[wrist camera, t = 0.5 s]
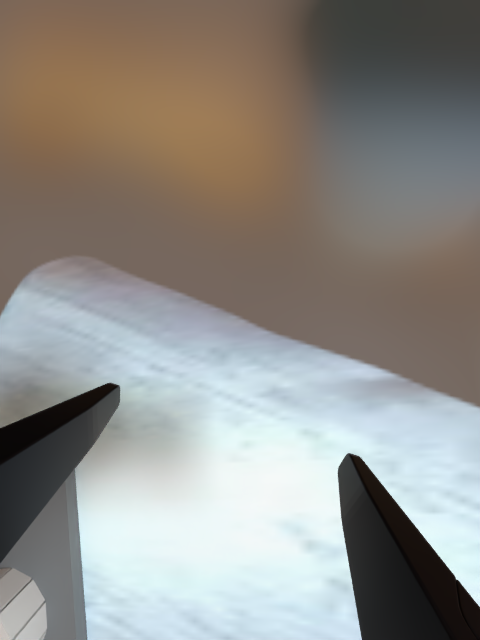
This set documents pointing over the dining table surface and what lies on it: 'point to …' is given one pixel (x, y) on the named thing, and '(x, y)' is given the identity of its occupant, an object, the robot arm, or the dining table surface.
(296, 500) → the dining table surface
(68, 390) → the dining table surface
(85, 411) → the robot arm
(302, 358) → the dining table surface
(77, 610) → the duct plate
